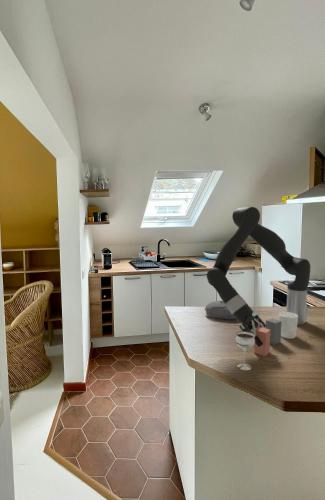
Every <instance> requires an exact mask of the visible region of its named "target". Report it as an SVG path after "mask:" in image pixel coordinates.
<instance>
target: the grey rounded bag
mask: <svg viewBox="0 0 325 500" xmlns="http://www.w3.org/2000/svg"><path fill="white" fill-rule="evenodd" d="M204 310H205V314H206V316H207V317H210V318H214V319H219V320H220V319H221V320H236V318H235V317H234V316H233V314H232V313H231V312H230V310H229V309H228V307H227V306H226V304H225V303H224V302H223V300H215V301H212V302H209V303H207V304H206V306H205V308H204Z"/></svg>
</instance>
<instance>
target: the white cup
mask: <svg viewBox="0 0 325 500" xmlns="http://www.w3.org/2000/svg"><path fill="white" fill-rule="evenodd" d="M278 320H279V321H281V338H284V339H288V340H290V339H296V335H297V328H298V324H297V321H298V315H297V314H294V313H290V312H286V311H282V312H281V311H280V312H279V313H278Z"/></svg>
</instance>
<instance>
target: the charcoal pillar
mask: <svg viewBox="0 0 325 500" xmlns="http://www.w3.org/2000/svg"><path fill="white" fill-rule="evenodd" d="M265 325H266V327H265V328H266V329H270V336H271V338H270V344H271V345H273V346H275V345H278V344H280V343H281V340H282V337H281V321H279V319H276V318H269V319H266V320H265Z"/></svg>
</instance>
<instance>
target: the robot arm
mask: <svg viewBox="0 0 325 500" xmlns="http://www.w3.org/2000/svg"><path fill="white" fill-rule="evenodd" d="M260 218H261V213H260V211H259V209H258V208H257V207H255V206H244V207H238V208H236V209H235V210H234V211H233V212H232V221H233V223H234V224H235V226H237V227H238V229H237V230H236V231H235V232H234V233H233V234H232V236H231V237H230V238H229V239H227V240H226V242H225V243H224V244H223V245H222V247H221V248H220V250H219V253H218V254H217V256H216V258H215V262H214V265H213V267H211V268H210V269H208V271H207V272H206V279H207V282H208V283H209V285H210V286H212V287H213V288H214V289H215V291H216V292H217V293H218V296H219V297H220V299H221V301H223V302H224V303H225V304H226V306H227V307H228V309H229V310H230V312H231V313H232V314H233V316H234V317H235V318H236V319H235V320H236V322H237V323H241V324H240V325H239V328H240V330H241V331H245V332H250V333H253V334H254V335H255V338H254V339H255V343H256V344H257V346H258V347H260V346H261V345H263V343H262V341H261V340H260V339H259V337H258V336H257V335H256V332H255V331H256V329H257V328H259V327H262V328H266V322H264V321H263V320H262V318H260V316H259V314H258V315H255V316H253V315H252V314H253V313H254V310H253V309H252V308H251V307H250V306H249V304H248V303H247V301H246V300H245V299H244V298H243V297H242V296H241V295H240V294H239V293H238V292H237V290H236V289H235V287H234V286H233V285H232V284H231V283H230V281H229V279H228V278H227V277H226V276H227V274H228V271H229V269H230V267H231V265H232V264H233V262H234V260H235V258H236V256H237V254H238V253H239V251H240V249H241V248H242V246H243V244H244V243H245V242H246V240H247V239H248V238H249V236H250V237H251V238H252V239H253V240H254V241H255V242H256V243H257V244H258V245H260V247H261V248H262V249H263V250H264V251H265V252H267V253H268V254H269V255H270V256H271V257H272V258H273V259H274V260H276V262H278V264H280V266H281V267H282V268H283V270H284V271H285V272H287V273H288V274H289V275H290V276H295V278H294V280H293V281H289V282H288V283H287V289H286V290H287V292H286V293H287V294H286V311H285V312H290V313H294V314H297V315H298V321H297V325H304V324H305V323H306V322H308V321H307V319H308V303H307V300H308V299H307V296H308V286H309V284H310V278H311V277H310V276H311V263H310V261H309V260H308V259H307V258H301V257H297V256H293V255H291V254H290V253H289V252H288V250H286V248H287V247H286V246H287V245H286V243H285V241H284V239H282V237H280V236H279V235H278V234H277V233H276V232H275V231H273V230H271V229H270V228H267V227H265V226H263V225H261V224H259V222H260V220H261V219H260ZM270 338H271V336H270Z"/></svg>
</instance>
